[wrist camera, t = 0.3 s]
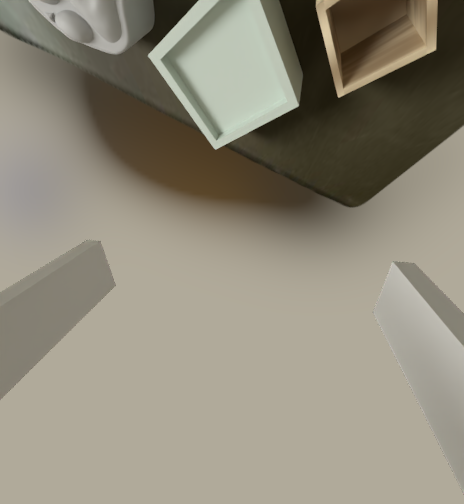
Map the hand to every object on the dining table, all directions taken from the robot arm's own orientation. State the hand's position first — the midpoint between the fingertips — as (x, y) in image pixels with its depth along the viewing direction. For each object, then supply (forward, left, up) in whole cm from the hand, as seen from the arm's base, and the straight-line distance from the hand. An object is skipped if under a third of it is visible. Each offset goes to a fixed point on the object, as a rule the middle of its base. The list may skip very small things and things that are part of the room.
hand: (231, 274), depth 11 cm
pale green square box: (-2, -6, -33) cm, 33 cm away
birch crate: (+1, +8, -33) cm, 34 cm away
